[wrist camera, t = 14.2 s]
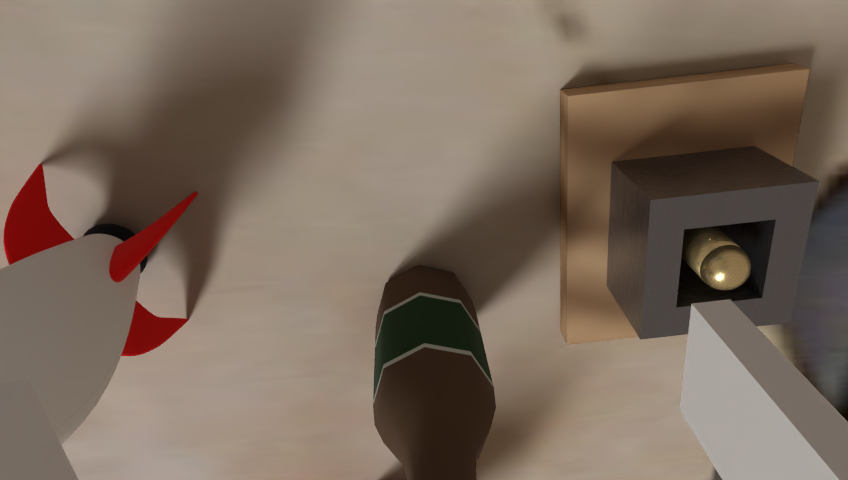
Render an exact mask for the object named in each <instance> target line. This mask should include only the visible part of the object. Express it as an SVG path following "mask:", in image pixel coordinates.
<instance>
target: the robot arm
mask: <svg viewBox="0 0 848 480" xmlns="http://www.w3.org/2000/svg"><path fill="white" fill-rule="evenodd" d="M680 412H681V414H682V415H683V417H684V419H685V420H686V422H687V423H688V425H689V427H690V428H691V430H692V431H693V433H694V435H695V436H696V438H697V439H698V441H699V443H700V444H701V446H702V448H703V449H704V451H705V452H706V454H707V456H708V457H709V459H710V460H711V462H712V464H713V465H714V467H715V468H716V470H717V472H718V473H719V475H720V477H721V478H722V480H848V422H847V421H846V420H845V419H844V418H843V417H842V416H841V415H840V413H839V412H838V411H837V410H836V409H835V408H834V407H833V406H832V405H831V404H830V403H829V402H828V401H827V400H826V399H825V398H824V397H823V396H822V395H821V394H820V393H819V392H818V391H817V389H816V388H815V387H814V386H813V385H812V384H811V383H810V382H809V381H808V380H807V379H806V378H805V377H804V376H803V375H802V374H801V373H800V372H799V371H798V370H797V369H796V368H795V366H794V365H793V364H792V363H791V362H790V361H789V360H788V359H787V358H786V357H785V356H784V355H783V354H782V353H781V352H780V351H779V350H778V349H777V348H776V347H775V346H774V345H773V343H772V342H771V341H770V340H769V339H768V338H767V337H766V336H765V335H764V334H763V333H762V332H761V331H760V330H759V329H758V328H757V327H756V326H755V325H754V324H753V323H752V322H751V321H750V319H749V318H748V317H747V316H746V315H745V314H744V313H743V312H742V311H741V310H740V309H739V308H738V307H737V306H736V305H735V304H734V303H733V302H732V301H731V300H730V299H727V300H719V301H710V302H701V303H693V304H691V313H690V322H689V331H688V340H687V349H686V358H685V367H684V377H683V386H682V395H681V404H680ZM0 480H78V478H77V476H76V474H75V472H74V470H73V468H72V466H71V464H70V462H69V460H68V458H67V456H66V454H65V452H64V450H63V448H62V446H61V444H60V442H59V440H58V437H57V435H56V433H55V431H54V429H53V427H52V425H51V423H50V421H49V419H48V417H47V415H46V413H45V411H44V409H43V407H42V405H41V403H40V401H39V399H38V397H37V395H36V393H35V391H34V389H33V387H32V385H31V383H30V381H29V380H24V381H15V382H7V383H0Z"/></svg>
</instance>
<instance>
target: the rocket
mask: <svg viewBox="0 0 848 480" xmlns="http://www.w3.org/2000/svg"><path fill="white" fill-rule="evenodd" d="M197 194H198V193H197V192H194V193H193V194H191V195H190V196H188V197H187V198H186V199H184V200H183V201H182V202H180V203H179V204H178V205H177V206H175V207H174V208H173V209H171V210H170V211H169V212H167V213H166V214H165V215H163V216H162V217H161V218H159V219H158V220H157V221H155V222H154V223H153V224H151V225H150V226H148V227H147V228H145V229H144V230H142V231H141V232H139V233H137V234H136V235H135V234H134V233H133V232H131V231H130V230H128V229H126V228H124V227H122V226H119V225H114V224H101V225H97V226H94V227H92V228H91V229H89V230H88V231H87V232H86V233H85V234H84V236H83V237H80V238H77V239H74V238H72V236H71V235H70V234H69V233H68V232H67V231H66V230H65V229H64V228H63V227H62V226H61V224H60V223H59V222H58V221H57V220H56V218H55V217H54V216H53V214H52V213H51V211H50V209H49V207H48V203H47V197H46V189H45V181H44V173H43V166H42V164H39V165H38V167H37V168H36V169H35V171H34V172H33V174H32V175H31V176H30V178H29V179H28V180H27V182H26V183H25V185H24V186H23V188H22V189H21V190H20V192H19V193H18V195H17V196H16V198H15V200H14V201H13V203H12V205H11V208H10V210H9V213H8V216H7V219H6V223H5V228H4V248H5V253H6V257H7V260H8V262H9V266H7V267H5V268H3V269H1V270H0V383H7V382H15V381H24V380H29V381H30V383H31V385H32V387H33V389H34V391H35V393H36V395H37V397H38V399H39V401H40V403H41V405H42V407H43V409H44V411H45V413H46V415H47V417H48V419H49V421H50V423H51V425H52V427H53V429H54V431H55V433H56V435H57V437H58V440H59V442H60V444H61V445H62V444H63V443H64V442H65V441H66V440H67V439H68V438H69V437H70V436H71V435H72V434H73V432H74V431H75V430H76V429H77V428H78V427H79V426H80V425H81V424H82V423H83V421H84V420H85V419H86V417H87V416H88V415H89V413H90V412H91V411H92V409H93V408H94V407H95V405H96V404H97V402H98V401H99V399H100V397H101V396H102V394H103V392H104V391H105V389H106V387H107V386H108V384H109V382H110V379H111V377H112V375H113V373H114V371H115V369H116V367H117V364H118V362H119V359H120V357H121V356H136V355H140V354H144V353H146V352H149V351H151V350H153V349H155V348H157V347H158V346H160V345H161V344H163V343H164V342H165V341H166V340H167V339H169V338H170V337H171V336H172V335H173V334H174V333H175V332H176V331H177V330H179V329H180V328H181V327H182V326H183V325H184V324H185V323H186V322H187V321H188V319H181V318H161V317H157V316H155V315H153V314H152V313H150V312H149V311H148V310H146V309H145V308H144V307H143V306H142V305H141V304H140V303H138V302H137V301H136V297H137V291H138V285H139V278H140V273H141V272H142V271H143V270H144V268H145V266H146V263H147V255H148V254H149V252H150V251H151V250H152V249H153V248H154V247H155V246H156V244H157V243H158V242H159V241H160V240H161V239H162V238H163V236H164V235H165V234H166V233H167V232H168V230H169V229H170V228H171V227H172V226H173V224H174V223H175V222H176V221H177V220H178V218H179V217H180V216H181V215H182V213H183V212H184V211H185V210H186V208H187V207H188V206H189V205H190V203H191V202H192V201H193V200H194V198H195V197H196V196H197Z"/></svg>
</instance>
